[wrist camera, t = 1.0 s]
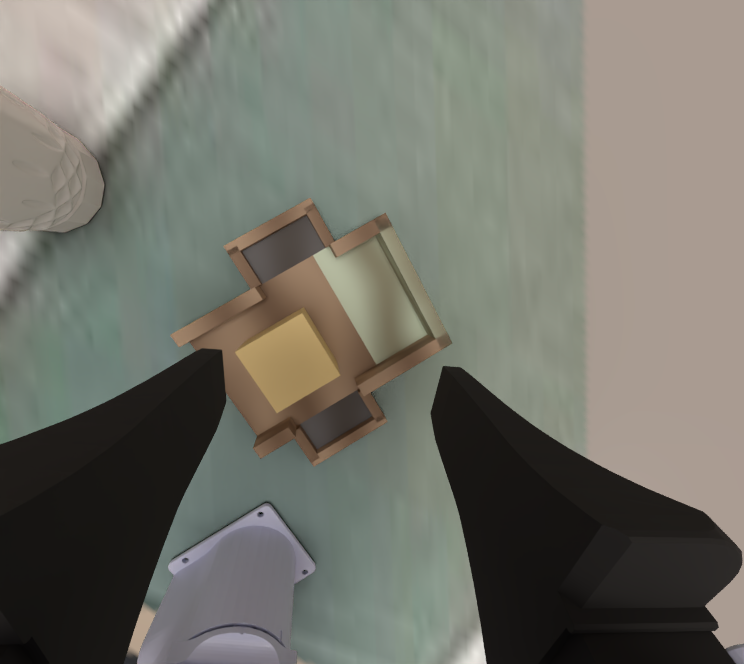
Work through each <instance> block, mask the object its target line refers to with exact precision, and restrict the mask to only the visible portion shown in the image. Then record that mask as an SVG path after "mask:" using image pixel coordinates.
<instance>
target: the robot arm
mask: <svg viewBox="0 0 744 664" xmlns="http://www.w3.org/2000/svg"><path fill="white" fill-rule="evenodd" d="M225 404H226V390H225V378H224V365H223V353H222V350H220V349H207V348H201V349H199V350H197V351H196V352H194V353H192V354H190V355H189V356H187V357H185V358H184V359H182V360H180V361H179V362H177V363H175V364H174V365H172V366H170V367H169V368H167V369H165V370H164V371H162V372H160V373H159V374H157V375H155V376H153V377H152V378H150V379H148V380H147V381H145V382H143V383H141V384H139V385H137V386H135V387H134V388H132V389H130V390H128V391H126V392H124V393H122V394H121V395H119V396H117V397H115V398H113V399H111V400H109V401H107V402H105V403H103V404H101V405H99V406H96V407H94V408H92V409H90V410H88V411H85V412H83V413H81V414H79V415H76V416H74V417H72V418H69V419H67V420H65V421H62V422H60V423H57V424H54V425H52V426H49V427H47V428H44V429H41V430H39V431H36V432H33V433H31V434H28V435H26V436H23V437H20V438H18V439H15V440H12V441H9V442H6V443H3V444H0V664H123V663H124V660H125V657H126V654H127V651H128V648H129V644H130V641H131V638H132V635H133V631H134V629H135V626H136V623H137V620H138V617H139V614H140V611H141V608H142V605H143V602H144V599H145V596H146V593H147V590H148V587H149V584H150V581H151V579H152V576H153V573H154V570H155V568H156V565H157V562H158V559H159V557H160V554H161V551H162V548H163V546H164V543H165V540H166V538H167V535H168V532H169V530H170V527H171V525H172V522H173V519H174V517H175V514H176V512H177V509H178V507H179V505H180V502H181V500H182V498H183V496H184V494H185V492H186V490H187V488H188V486H189V484H190V482H191V480H192V478H193V476H194V474H195V472H196V470H197V468H198V466H199V464H200V462H201V460H202V458H203V456H204V454H205V452H206V450H207V448H208V446H209V444H210V442H211V440H212V438H213V436H214V434H215V432H216V430H217V427H218V425H219V422H220V419H221V416H222V413H223V410H224V407H225ZM431 418H432V424H433V430H434V435H435V440H436V443H437V446H438V450H439V453H440V456H441V459H442V462H443V465H444V468H445V471H446V474H447V477H448V480H449V483H450V486H451V489H452V492H453V495H454V498H455V501H456V505H457V508H458V512H459V515H460V520H461V524H462V529H463V533H464V538H465V542H466V547H467V552H468V557H469V562H470V567H471V572H472V577H473V582H474V588H475V594H476V599H477V605H478V611H479V617H480V622H481V629H482V635H483V642H484V649H485V655H486V662H487V664H744V644H740V645H734V646H731V647H729V648H726V649H724V647H723V646H722V645H721V644H720V642H719V641H718V639H717V638H716V637H715V635H714V634H713V633H712V631H715V630H716V629H717V628H719V627H718V622H717V621H716V620H715V619H714V617H713V616H712V615H711V613H710V612H709V611H708V610H707V608H706V607H705V605H706V604H707V603H708V602H709V601H710V600H711V599H713V597H715V596H716V595H717V594H718V593H719V592H720V591H721V590H722V589H723V588H724V587H726V586H727V585H728V584H729V583H730V582H731V581H732V580H733V578H734V577H735V576H736V575H737V574H738V572H739V570H740V568H741V566H742V551H741V550H740V549H739V548H738V546H737V545H736V544H735V543H734V542H733V541H732V540H731V539H730V538H729V537H728V536H727V535H726V534H725V533H724V532H723V531H722V530H721V529H720V528H719V527H718V526H717V525H716V524H715V523H714V522H713V521H712V520H711V518H709V516H707V515H706V514H705V513H704V512H703V511H700V510H697V509H695V508H693V507H690V506H688V505H685V504H683V503H681V502H678V501H676V500H673V499H671V498H669V497H666V496H664V495H661V494H659V493H656V492H654V491H652V490H649V489H647V488H645V487H643V486H641V485H638V484H636V483H634V482H632V481H630V480H627V479H626V478H623V477H621V476H619V475H617V474H615V473H613V472H611V471H609V470H607V469H605V468H603V467H601V466H600V465H597V464H596V463H594V462H592V461H590V460H589V459H587V458H585V457H583V456H581V455H580V454H578V453H576V452H574V451H573V450H571V449H569V448H567V447H566V446H564V445H562V444H561V443H559V442H558V441H556V440H555V439H553V438H552V437H550V436H548V435H547V434H545V433H544V432H542V431H541V430H539V429H538V428H536V427H535V426H534V425H532V424H531V423H529V422H528V421H527V420H525V419H524V418H523V417H521V416H520V415H519V414H517V413H516V412H515V411H513V410H512V409H511V408H510V407H508V406H507V405H506V404H504V403H503V402H502V401H501V400H500V399H498V398H497V397H496V396H495V395H494V394H492V393H491V392H490V391H489V390H488V389H486V388H485V387H484V386H483V385H482V384H481V383H479V382H478V381H477V380H476V379H475V378H473V377H472V376H471V375H470V374H469V373H467V372H466V371H465V370H463V369H462V368H460V367H448V366H443V368H442V372H441V376H440V379H439V383H438V387H437V391H436V395H435V398H434V402H433V406H432V410H431ZM258 512H263V514H259V513H258ZM184 558H188V560H187V559H184ZM315 568H316V565H315V563H314V561H313V560H312V559H311V557H310V556H309V555H308V553H307V552H306V551H305V549H304V548H303V547H302V545H301V544H300V543H299V541H298V540H297V539H296V537H295V536H294V535H293V533H292V532H291V531H290V529H289V528H288V527H287V525H286V524H285V523H284V521H283V520H282V519H281V517H280V516H279V515H278V513H277V512H276V511H275V509H274V508H273V507H272V505H270V504H268V503H265V504H263V505H261V506H259V507H258V508H256V509H254V510H253V511H251V512H250V513H248V514H246V515H245V516H243V517H241V518H240V519H238V520H236V521H235V522H233V523H232V524H230V525H228V526H227V527H225V528H223V529H222V530H220V531H218V532H217V533H215V534H213V535H212V536H210V537H209V538H207V539H205V540H204V541H202V542H200V543H199V544H197V545H195V546H194V547H192V548H191V549H189V550H187V551H186V552H184V553H182V554H181V555H179V556H177V557H176V558H174V559H173V560H171V561H170V563H169V565H168V569H169V570H170V572H171V573H172V574H173V575H174V576H173V578H172V580H171V583H170V585H169V587H168V589H167V591H166V593H165V596H164V598H163V600H162V602H161V604H160V606H159V609H158V611H157V613H156V615H155V617H154V620H153V622H152V624H151V626H150V629H149V630H148V633H147V635H146V637H145V639H144V641H143V644H142V646H141V649H140V652H139V656H138V661H137V664H297V651H296V650H290V646H291V630H292V613H293V597H294V584H296V583H297V582H299V581H300V580H302V579H304V578H305V577H307V576H308V575H310V574H311V573H313V572H314V571H315ZM303 570H307V571H303Z"/></svg>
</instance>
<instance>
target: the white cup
mask: <svg viewBox="0 0 744 664" xmlns="http://www.w3.org/2000/svg"><path fill="white" fill-rule="evenodd" d="M103 191H104V181H103V178H102V175H101V172H100V168H99V165H98V162H97V160H96V159H95V158H94V157H93V155H92V154H91V153H90V152H89V151H88V150H87V148H86V147H85V146H84V145H83V144H82V143H81V141H80V140H79V139H77V138H76V137H74V136H72V135H71V134H69V133H68V132H66V131H64V130H63V129H61V128H60V127H58V126H57V125H55V124H54V123H53V122H51V121H50V120H49V119H48V118H46V117H45V116H44V115H43V114H41V113H40V112H38V111H37V110H36V109H34V108H33V107H31V106H30V105H28V104H27V103H25V102H24V101H22V100H21V99H20V98H18V97H17V96H15V95H14V94H12V93H11V92H9V91H8V90H6V89H5V88H3V87H2V86H0V231H19V232H23V231H27V230H32V231H46V232H68V231H70V230H73V229H75V228H78V227H80V226H83V225H85V224H87V223H88V222H89V221H90V219H91V218H92V217H93V216H94V215H95V213H96V212H97V211H98V210H99V209H100V207H101V203H102V197H103Z"/></svg>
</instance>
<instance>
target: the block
mask: <svg viewBox="0 0 744 664" xmlns="http://www.w3.org/2000/svg"><path fill="white" fill-rule="evenodd" d="M235 353H236V355H237V356H238V358H239V359H240V361H241V362H242V364H243V365H244V366H245V368H246V369H247V371H248V372H249V374H250V375H251V377H252V378H253V379H254V381H255V382H256V384H257V385H258V387H259V388H260V390H261V391H262V392H263V394H264V395H265V397H266V398H267V400H268V401H269V403H270V404H271V406H272V407H273V408H274V410H275V411H276V413H278V412H280V411H282V410H283V409H285V408H287V407H288V406H290V405H292V404H293V403H295V402H297V401H298V400H300V399H302V398H303V397H305V396H307V395H309V394H310V393H312V392H314V391H315V390H317V389H319V388H320V387H322V386H324V385H325V384H327V383H329V382H330V381H332V380H334V379H335V378H337V377H339V376H340V372H339V368H338V364H337V361H336V359H335V357H334V356H333V354H332V352H331V351H330V349H329V348H328V346H327V344H326V343H325V341H324V339H323V338H322V336H321V335H320V333H319V331H318V330H317V328H316V326H315V325H314V323H313V321H312V320H311V318H310V317H309V315H308V313H307V312H306V310H305V308H304V307H303V308H301V309H300V310H298V311H296V312H294V313H293V314H291V315H289V316H287V317H286V318H284V319H282V320H281V321H279V322H277V323H275V324H274V325H272V326H270V327H268V328H267V329H265V330H263V331H261V332H260V333H258V334H256V335H255V336H253V337H251V338H249V339H248V340H246V341H245V342H244V343H243V344H242V345H241V346H240V347H239V348H238V349H237V350H236V351H235Z"/></svg>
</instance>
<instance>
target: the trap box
mask: <svg viewBox="0 0 744 664" xmlns="http://www.w3.org/2000/svg"><path fill="white" fill-rule="evenodd" d="M224 248H225V249H226V251H227V253H228V254H229V256H230V257H231V259H232V260H233V262H234V263H235V265H236V267H237V268H238V270H239V271H240V273H241V274H242V276H243V277H244V279H245V281H246V282H247V284H248V285H249V287H250V288H251V289H250V290H248V291H247V292H245V293H243V294H241V295H240V296H238V297H236V298H234V299H233V300H231V301H229V302H227V303H226V304H224V305H222V306H220V307H219V308H217V309H215V310H213V311H211V312H210V313H208V314H206V315H204V316H203V317H201V318H199V319H197V320H196V321H194V322H192V323H190V324H189V325H187V326H185V327H183V328H182V329H180V330H178V331H176V332H174V333H173V334H171V335H170V336H171V337H172V338H173V340H174V341H175V342H176V344H177V345H178V346H179V347H181V346H182V345H184V344H186V343H188V342H190V343H191V345H192V346H193V347H194V349H195V350H196V351H197V350H199V349H201V348H207V349H220V350H222V353H223V365H224V378H225V390H226V393H227V395H228V396H229V397H230V399H231V400H232V402H233V403H234V404H235V406H236V407H237V408H238V410H239V411H240V413H241V414H242V415H243V417H244V418H245V420H246V421H247V422H248V424H249V425H250V427H251V428H252V429H253V431H254V432H255V433H256V435H257V438H256V441H255V444H254V447H253V449H254V450H255V452H256V453H257V454H258V456H259V457H260V459H261V458H262V457H264V456H266V455H267V454H269V453H271V452H272V451H274V450H276V449H277V448H279V447H281V446H282V445H284V444H286V443H287V442H289V441H291V440H292V439H295V440H296V442H297V443H298V444H299V446H300V447H301V449H302V450H303V452H304V453H305V455H306V456H307V458H308V459H309V460H310V462H311V463H312V465H313V466H316V465H317V464H319V463H321V462H322V461H324V460H326V459H327V458H329V457H331V456H332V455H334V454H336V453H337V452H339V451H340V450H342V449H344V448H345V447H347V446H349V445H350V444H352V443H354V442H355V441H357V440H359V439H360V438H362V437H363V436H365V435H367V434H368V433H370V432H372V431H373V430H375V429H377V428H378V427H380V426H382V425H383V424H385V423H386V422H387V420H386V418H385V416H384V414H383V412H382V411H381V409H380V407H379V406H378V404H377V402H376V401H375V399H374V397H373V396H372V394H371V392H372V391H374V390H376V389H377V388H379V387H381V386H382V385H384V384H385V383H387V382H389V381H390V380H392V379H394V378H395V377H397V376H399V375H400V374H402V373H404V372H405V371H407V370H409V369H410V368H412V367H414V366H415V365H417V364H419V363H420V362H422V361H424V360H425V359H427V358H429V357H430V356H432V355H434V354H435V353H437V352H439V351H440V350H442V349H444V348H445V347H447V346H449V345H450V344H452V342H451V340H450V338H449V336H448V334H447V332H446V330H445V328H444V326H443V324H442V322H441V320H440V318H439V316H438V314H437V312H436V310H435V308H434V307H433V305H432V303H431V301H430V299H429V297H428V295H427V293H426V291H425V289H424V287H423V285H422V283H421V281H420V279H419V277H418V275H417V273H416V271H415V269H414V268H413V266H412V264H411V262H410V260H409V258H408V256H407V254H406V252H405V250H404V248H403V246H402V244H401V242H400V240H399V238H398V236H397V234H396V232H395V230H394V228H393V227H392V225H391V223H390V221H389V219H388V217H387V215H386V213H384V214H382V215H381V216H379V217H377V218H375V219H374V220H372V221H370V222H368V223H367V224H365V225H363V226H361V227H359V228H358V229H356V230H354V231H352V232H351V233H349V234H347V235H345V236H344V237H342V238H340V239H338V240H337V241H334V239H333V237H332V236H331V234H330V232H329V230H328V228H327V227H326V225H325V223H324V221H323V219H322V218H321V216H320V214H319V212H318V211H317V209H316V207H315V205H314V203H313V202H312V200H311V198H309V199H307V200H305V201H304V202H302V203H300V204H298V205H296V206H295V207H293V208H291V209H289V210H287V211H286V212H284V213H282V214H280V215H278V216H277V217H275V218H273V219H271V220H269V221H268V222H266V223H264V224H262V225H260V226H259V227H257V228H255V229H253V230H251V231H250V232H248V233H246V234H244V235H242V236H241V237H239V238H237V239H235V240H233V241H232V242H230V243H228V244H226V245H224ZM303 307H304V308H305V310H306V312H307V313H308V315H309V317H310V318H311V320H312V321H313V323H314V325H315V326H316V328H317V330H318V331H319V333H320V335H321V336H322V338H323V339H324V341H325V343H326V344H327V346H328V348H329V349H330V351H331V352H332V354H333V356H334V357H335V359H336V361H337V364H338V368H339V372H340V376H339V377H337V378H335V379H334V380H332V381H330V382H329V383H327V384H325V385H324V386H322V387H320V388H319V389H317V390H315V391H314V392H312V393H310V394H309V395H307V396H305V397H303V398H302V399H300V400H298V401H297V402H295V403H293V404H292V405H290V406H288V407H287V408H285V409H283V410H282V411H280V412H278V413H276V411H275V410H274V408H273V407H272V406H271V404H270V403H269V401H268V400H267V398H266V397H265V395H264V394H263V392H262V391H261V390H260V388H259V387H258V385H257V384H256V382H255V381H254V379H253V378H252V377H251V375H250V374H249V372H248V371H247V369H246V368H245V366H244V365H243V364H242V362H241V361H240V359H239V358H238V356H237V355H236V353H235V351H236V350H237V349H238V348H239V347H240V346H241V345H242V344H243V343H244V342H245V341H246V340H248V339H249V338H251V337H253V336H255V335H256V334H258V333H260V332H261V331H263V330H265V329H267V328H268V327H270V326H272V325H274V324H275V323H277V322H279V321H281V320H282V319H284V318H286V317H287V316H289V315H291V314H293V313H294V312H296V311H298V310H300V309H301V308H303Z"/></svg>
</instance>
